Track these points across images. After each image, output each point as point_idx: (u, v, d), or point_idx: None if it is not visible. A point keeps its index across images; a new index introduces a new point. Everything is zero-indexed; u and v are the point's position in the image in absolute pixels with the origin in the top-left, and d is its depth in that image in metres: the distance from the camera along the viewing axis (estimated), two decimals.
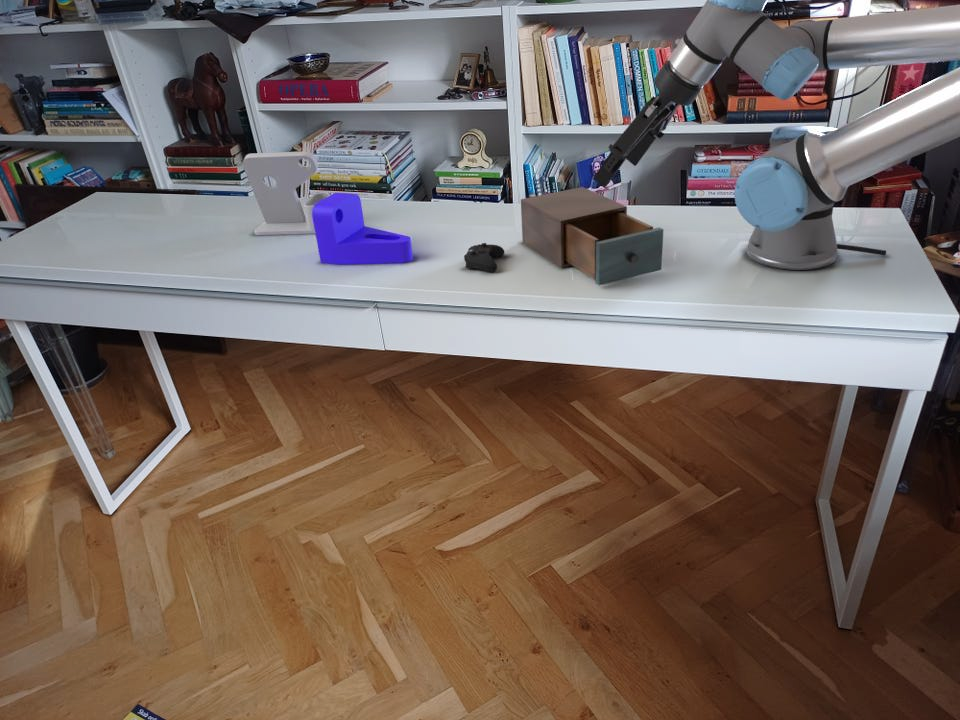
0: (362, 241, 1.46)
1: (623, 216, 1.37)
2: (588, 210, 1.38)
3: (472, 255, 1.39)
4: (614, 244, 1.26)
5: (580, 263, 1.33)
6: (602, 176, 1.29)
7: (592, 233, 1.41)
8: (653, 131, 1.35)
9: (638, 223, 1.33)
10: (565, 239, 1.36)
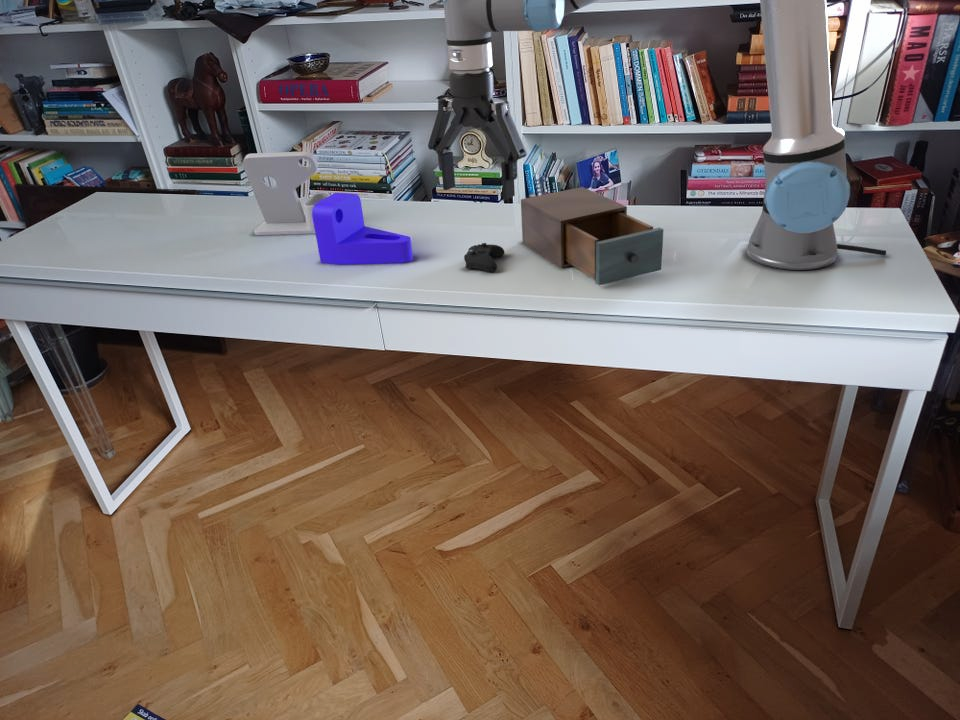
0: (362, 241, 1.46)
1: (623, 216, 1.37)
2: (588, 210, 1.38)
3: (472, 255, 1.39)
4: (614, 244, 1.26)
5: (580, 263, 1.33)
6: (509, 189, 1.32)
7: (592, 233, 1.41)
8: (445, 149, 1.37)
9: (638, 223, 1.33)
10: (565, 239, 1.36)
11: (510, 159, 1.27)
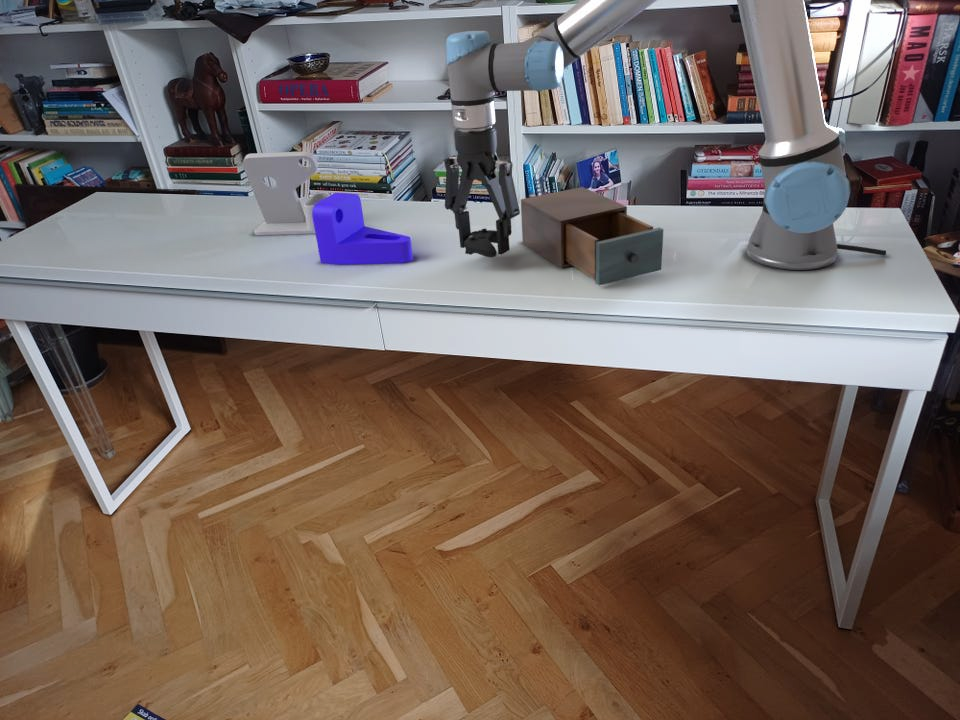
0: (362, 241, 1.46)
1: (623, 216, 1.37)
2: (588, 210, 1.38)
3: (472, 240, 1.38)
4: (614, 244, 1.26)
5: (580, 263, 1.33)
6: (504, 245, 1.38)
7: (592, 233, 1.41)
8: (461, 208, 1.41)
9: (638, 223, 1.33)
10: (565, 239, 1.36)
11: (504, 218, 1.34)
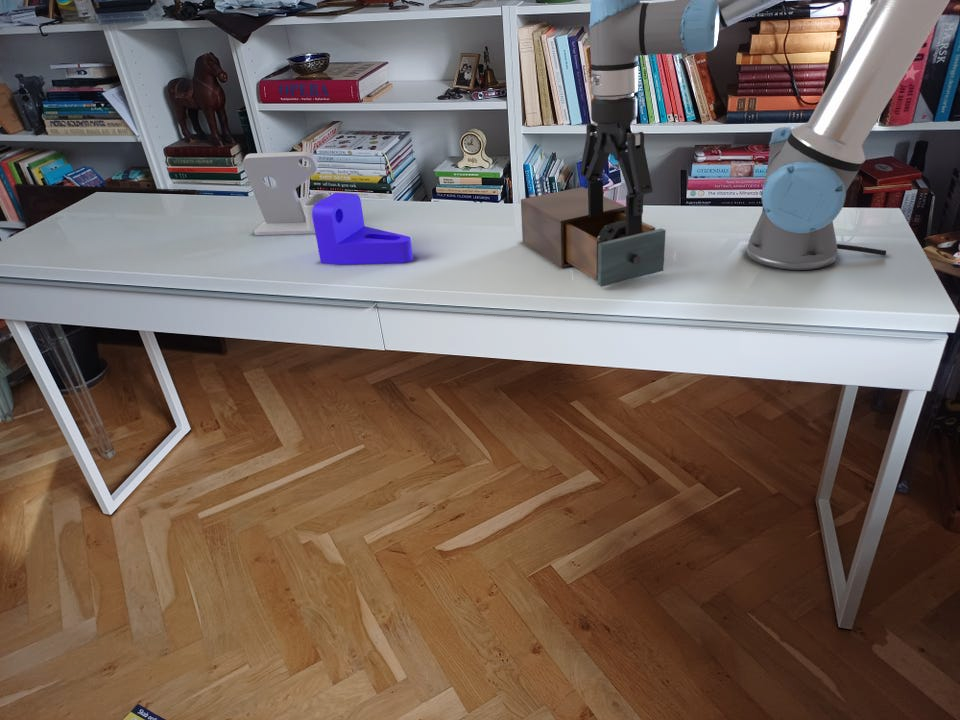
0: (362, 241, 1.46)
1: (625, 217, 1.37)
2: None
3: None
4: (616, 245, 1.25)
5: (582, 264, 1.33)
6: (634, 225, 1.25)
7: (594, 234, 1.40)
8: (595, 177, 1.33)
9: None
10: (567, 240, 1.36)
11: (633, 194, 1.21)
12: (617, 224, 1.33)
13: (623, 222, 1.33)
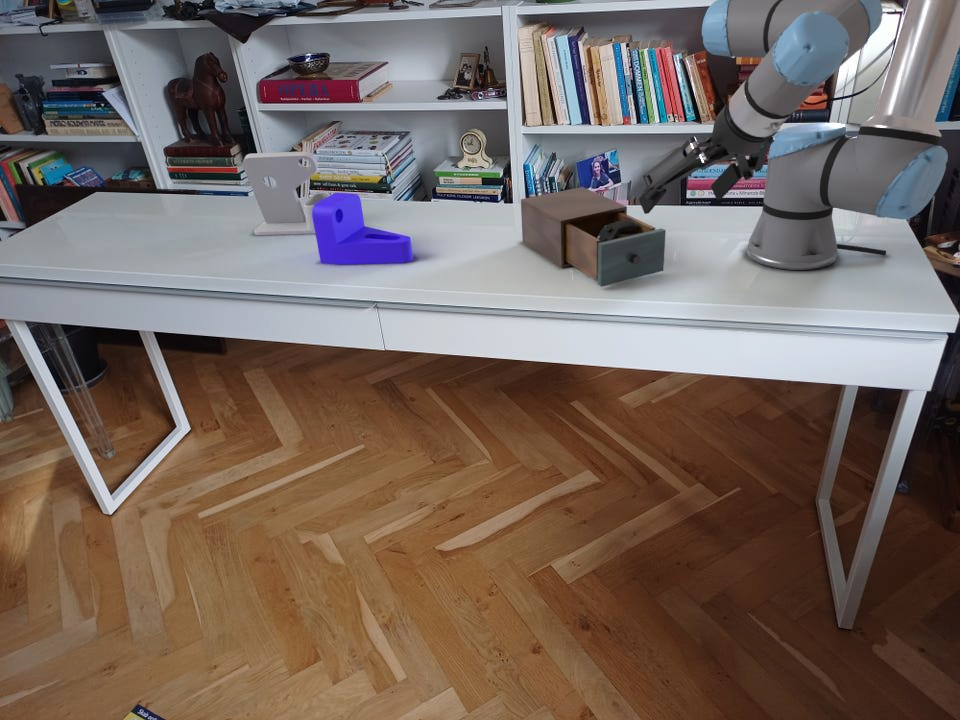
0: (362, 241, 1.46)
1: (625, 217, 1.37)
2: (588, 210, 1.38)
3: None
4: (616, 245, 1.25)
5: (582, 264, 1.33)
6: None
7: (594, 234, 1.40)
8: None
9: (640, 224, 1.33)
10: (567, 240, 1.36)
11: (749, 172, 1.15)
12: (617, 224, 1.33)
13: (623, 222, 1.33)
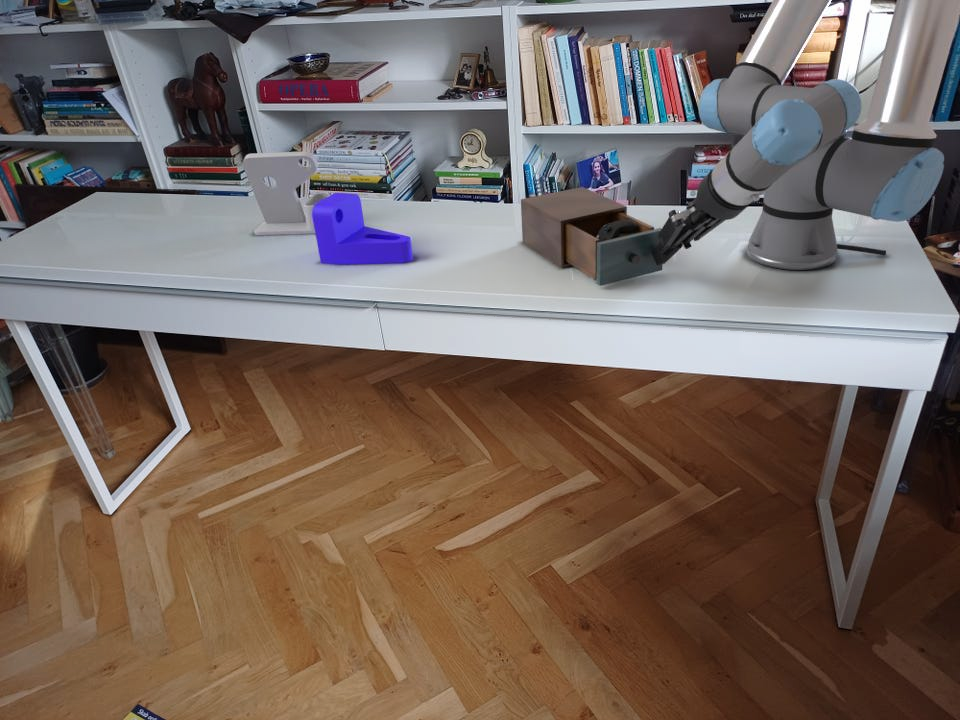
0: (362, 241, 1.46)
1: (624, 216, 1.37)
2: (588, 210, 1.38)
3: None
4: (615, 244, 1.26)
5: (581, 263, 1.33)
6: None
7: (593, 233, 1.40)
8: None
9: (639, 223, 1.33)
10: (566, 239, 1.36)
11: None
12: (616, 224, 1.33)
13: (622, 222, 1.33)
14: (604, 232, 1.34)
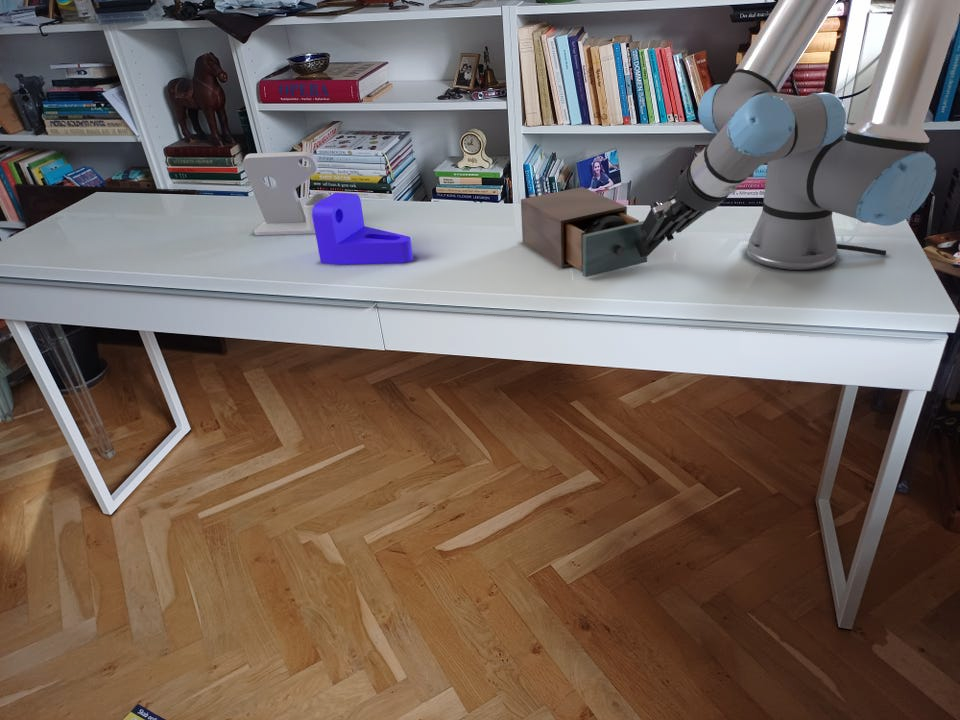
0: (362, 241, 1.46)
1: None
2: (588, 210, 1.38)
3: None
4: (600, 236, 1.29)
5: (568, 256, 1.37)
6: None
7: (580, 227, 1.44)
8: None
9: (624, 217, 1.37)
10: None
11: None
12: (604, 218, 1.37)
13: (610, 217, 1.36)
14: (592, 226, 1.37)
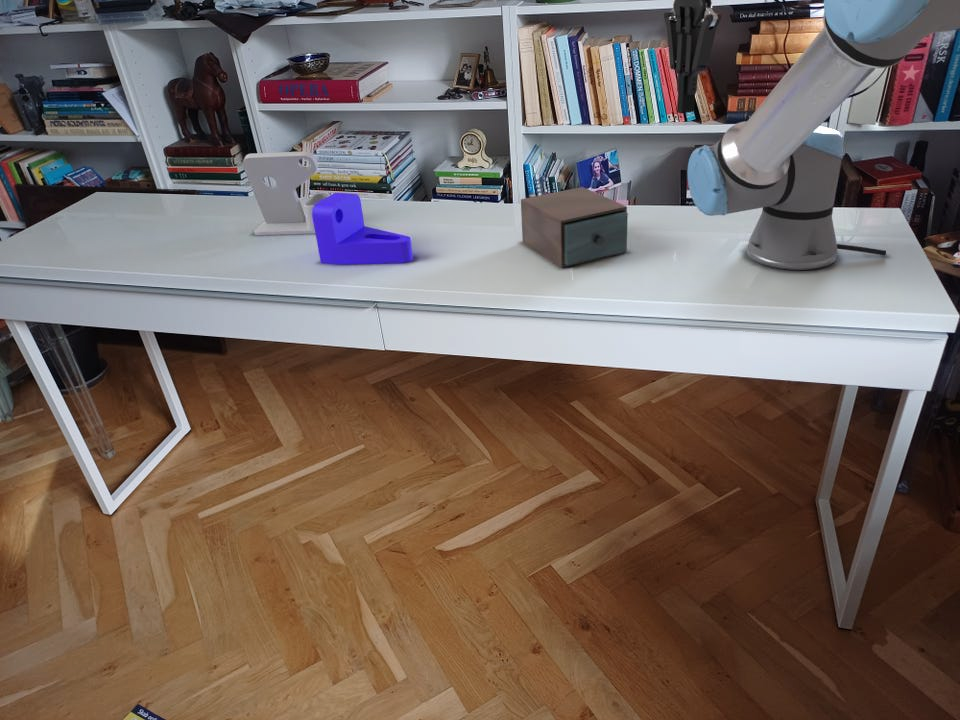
0: (362, 241, 1.46)
1: None
2: (588, 210, 1.38)
3: None
4: (581, 226, 1.35)
5: None
6: (687, 104, 1.35)
7: None
8: None
9: None
10: None
11: (688, 74, 1.31)
12: None
13: None
14: None
